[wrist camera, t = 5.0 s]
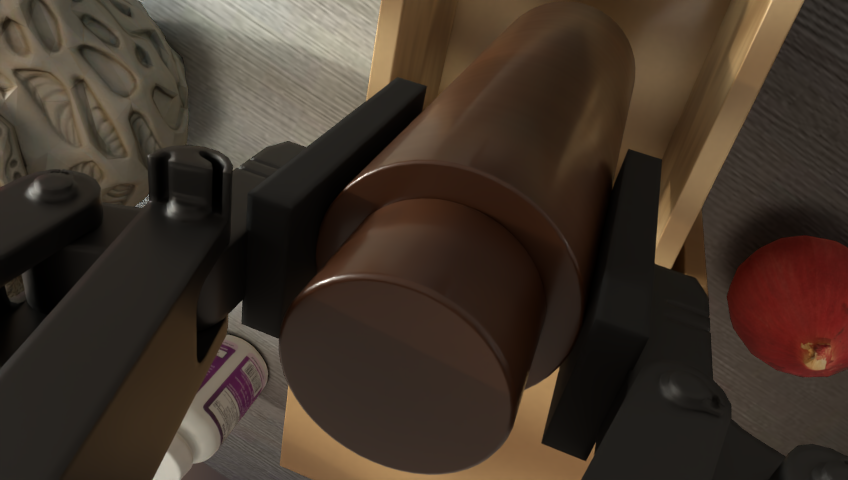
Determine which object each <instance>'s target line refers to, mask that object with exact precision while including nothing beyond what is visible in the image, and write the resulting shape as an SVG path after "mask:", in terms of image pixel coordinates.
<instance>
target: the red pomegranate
mask: <svg viewBox="0 0 848 480" xmlns="http://www.w3.org/2000/svg"><path fill="white" fill-rule="evenodd" d="M727 301H728V307H729V313H730V319H731V322H732V325H733V329H734V330H735V331H736V333H737V334H738V336H739V337H740V338H741V340H742V341H743V342H744V344H745V345H746V347H747V348H748V349H749V351H750V352H751V353H752V354H753V355H754V356H756V357H757V358H759V359H760V360H762V361H764V362H765V363H767V364H768V365H770V366H771V367H773V368H774V369H776V370H779V371H782V372H785V373H789V374H792V375H796V376H799V377H828V376H831V375H833V374H836V373H839V372H841V371H844V370H846V369H848V247H846V246H844V245H842V244H840V243H839V242H837V241H833V240H828V239H823V238H817V237H812V236H807V235H802V236H793V237H784V238H780V239H778V240H775V241H773V242H771V243H769V244H767V245H765V246H763V247H761V248H759V249H758V250H756V251H755V252H754V253H753V254H752V255H751V256H749V257H748V258H747V259H746V260H745V261H744V262H743V263H742V264H741V265H739V266H738V268H737V270H736V273H735V275H734V278H733V280H732V282H731V285H730V288H729V291H728V294H727Z"/></svg>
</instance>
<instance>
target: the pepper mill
mask: <svg viewBox="0 0 848 480" xmlns="http://www.w3.org/2000/svg"><path fill="white" fill-rule="evenodd" d="M635 70H636V67H635V58H634V54H633V51H632V48H631V45H630V43H629V40H628V38H627V37H626V35H625V33H624V32H623V30H622V29H621V28H620V27H619V25H618V24H617V23H616V22H615V21H614V20H613V19H612V18H611V17H609V16H608V15H606V14H605V13H604V12H602V11H600V10H598V9H596V8H595V7H592V6H589V5H587V4H583V3H579V2H572V1H558V2H551V3H546V4H543V5H540V6H537V7H535V8H533V9H531V10H529V11H527V12H526V13H524V14H523V15H521V16H520V17H519V18H518V19H516V20H515V21H514V22H513V23H512V24H511V25H510V26H509V27H508V28H507V29H506V30H505V31H504V32H503V33H502V34H501V35H500V36H499V37H498V38H497V39H496V40H495V41H494V42H493V43H492V44H491V45H490V46H489V47H488V48H487V49H486V50H484V51H483V52H482V53H481V54H480V55H479V56H478V57H477V58H476V59H475V60H474V61H473V62H472V63H471V64H470V65H469V66H468V67H467V68H466V69H465V70H464V71H463V72H462V73H461V74H460V75H459V76H458V77H457V78H456V79H455V80H454V81H453V82H452V83H451V84H450V85H449V86H448V87H447V88H446V89H445V90H444V91H443V92H442V93H441V94H440V95H439V96H438V97H437V98H436V99H435V100H434V101H432V102H431V103H430V104H429V105H428V106H427V107H426V108H425V109H424V110H423V111H422V112H421V113H420V114H419V115H418V116H417V117H416V118H415V119H414V120H413V121H412V122H411V123H410V124H409V125H408V126H407V127H406V128H405V129H404V130H403V131H402V132H401V133H400V134H399V135H398V136H397V137H396V138H395V139H394V140H393V141H392V142H391V143H390V144H389V145H388V146H387V147H386V148H385V149H384V150H383V151H382V152H380V153H379V154H378V155H377V156H376V157H375V158H374V159H373V160H372V161H371V162H370V163H369V164H368V165H367V166H366V167H365V168H364V169H363V170H362V171H361V172H360V173H359V174H358V175H357V176H356V177H355V178H354V179H353V180H352V181H351V182H350V183H349V184H348V185H347V186H346V187H345V188H344V189H343V190H342V191H341V192H340V193H339V194H338V195H337V197H336V198H335V199H334V200H333V202H332V203H331V205H330V206H329V208H328V210H327V212H326V213H325V215H324V218H323V220H322V223H321V226H320V228H319V233H318V238H317V243H316V259H315V260H316V270H317V274H316V275H315V276H314V277H313V278H312V279H311V281H310V282H309V283H308V284H307V285H306V286H305V287H304V289H303V290H302V291H301V292H300V293H299V294H298V295H297V297H296V298H295V299H294V300H293V301H292V302H291V304H290V306H289V307H288V309H287V311H286V312H285V315H284V318H283V321H282V324H281V329H280V335H279V355H280V362H281V366H282V369H283V373H284V376H285V378H286V380H287V383H288V385H289V387H290V389H291V391H292V393H293V395H294V396H295V398H296V400H297V401H298V402H299V404H300V405H301V407H302V408H303V410H304V411H305V412H306V413H307V414H308V415H309V417H310V418H311V419H312V420H313V421H314V422H315V423H316V424H317V425H318V426H319V427H320V428H321V429H322V430H323V431H324V432H326V433H327V434H328V435H329V436H330V437H332V438H333V439H334V440H335V441H337V442H338V443H340V444H341V445H343V446H344V447H345V448H347V449H349V450H350V451H352V452H354V453H356V454H357V455H359V456H361V457H363V458H365V459H368V460H370V461H372V462H374V463H377V464H380V465H382V466H385V467H388V468H391V469H395V470H399V471H403V472H409V473H414V474H426V475H440V474H449V473H456V472H459V471H463V470H467V469H469V468H472V467H474V466H476V465H479V464H480V463H482V462H483V461H485V460H487V459H488V458H489V457H491V456H492V455H493V454H494V453H495V452H496V451H497V450H498V449H500V448H501V446H502V445H503V444H504V442H505V441H506V440H507V439H508V437H509V435H510V433H511V431H512V429H513V426H514V423H515V419H516V416H517V413H518V409H519V406H520V403H521V399H522V396H523V392H524V390H526V389H528V388H530V387H532V386H534V385H536V384H538V383H540V382H541V381H543V380H544V379H546V378H547V377H548V376H550V375H551V374H552V373H553V372H554V371H555V370H556V369H558V368H559V367H560V366H561V365H562V364H563V362H564V361H565V360H566V358H567V357H568V356H569V355H570V353H571V352H572V349H573V347H574V345H575V343H576V341H577V338H578V336H579V333H580V331H581V328H582V326H583V322H584V317H585V312H586V308H587V303H588V298H589V294H590V289H591V284H592V280H593V275H594V270H595V266H596V261H597V256H598V251H599V247H600V242H601V237H602V233H603V228H604V223H605V219H606V214H607V209H608V205H609V200H610V195H611V191H612V186H613V181H614V177H615V172H616V167H617V163H618V158H619V153H620V149H621V144H622V139H623V135H624V130H625V125H626V121H627V116H628V111H629V107H630V102H631V97H632V93H633V88H634V82H635Z"/></svg>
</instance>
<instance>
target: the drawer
mask: <svg viewBox="0 0 848 480" xmlns="http://www.w3.org/2000/svg"><path fill="white" fill-rule="evenodd" d="M558 1H572V2H579V3H583V4H587V5H589V6H592V7H595V8H596V9H598V10H600V11H602V12H604V13H605V14H606V15H608V16H609V17H611V18H612V19H613V20H614V21H615V22H616V23H617V24H618V25H619V27H620V28H621V29H622V30H623V32H624V33H625V35H626V37H627V38H628V40H629V43H630V45H631V48H632V51H633V54H634V58H635V67H636V70H635V82H634V88H633V93H632V97H631V102H630V107H629V111H628V116H627V121H626V125H625V130H624V135H623V139H622V144H621V149H620V153H619V158H618V163H617V167H616V172H615V177H614V181H613V186H614V183H615V181H616V178H617V176H618V173H619V171H620V168H621V166H622V163H623V161H624V158H625V156H626V153H627V151H628V149H630V150H634V151H637V152H640V153H643V154H647V155H650V156H653V157H656V158H659V159H662V167H661V181H660V195H659V209H658V223H657V237H656V251H655V264H657V265H660V266H663V267H666V268H668V269H671V268H672V266H673V264H674V262H675V260H676V258H677V256H678V254H679V252H680V250H681V248H682V246H683V244H684V242H685V240H686V238H687V236H688V234H689V232H690V230H691V228H692V226H693V224H694V222H695V220H696V218H697V216H698V214H699V212H700V210H701V208H702V206H703V204H704V202H705V200H706V198H707V196H708V194H709V192H710V190H711V188H712V186H713V184H714V182H715V180H716V178H717V176H718V174H719V172H720V170H721V168H722V166H723V164H724V162H725V160H726V158H727V156H728V154H729V152H730V150H731V148H732V145H733V143H734V141H735V139H736V137H737V135H738V133H739V131H740V129H741V127H742V125H743V123H744V121H745V119H746V117H747V115H748V113H749V111H750V109H751V107H752V105H753V103H754V101H755V99H756V97H757V95H758V93H759V91H760V89H761V87H762V85H763V83H764V81H765V79H766V77H767V75H768V73H769V71H770V69H771V67H772V65H773V63H774V61H775V59H776V57H777V55H778V53H779V51H780V49H781V47H782V45H783V43H784V41H785V39H786V37H787V35H788V33H789V31H790V29H791V27H792V25H793V23H794V21H795V19H796V17H797V15H798V13H799V11H800V9H801V7H802V5H803V3H804V1H805V0H381V5H380V12H379V18H378V25H377V32H376V38H375V45H374V52H373V58H372V65H371V72H370V78H369V85H368V92H367V98H366V101H367V100H368V99H370V98H371V97H372V96H374V95H375V94H376V93H377V92H379V91H380V90H381V89H383V88H384V87H385V86H386V85H388V84H389V83H390V82H392V81H393V80H394V79H395V78H397V77H399V78H403V79H406V80H409V81H412V82H415V83H419V84H422V85H425V86H427V89H426V94H425V99H424V104H423V109H422V111H423V110H424V109H425V108H426V107H427V106H428V105H429V104H430V103H431V102H432V101H434V100H435V99H436V98H437V97H438V96H439V95H440V94H441V93H442V92H443V91H444V90H445V89H446V88H447V87H448V86H449V85H450V84H451V83H452V82H453V81H454V80H455V79H456V78H457V77H458V76H459V75H460V74H461V73H462V72H463V71H464V70H465V69H466V68H467V67H468V66H469V65H470V64H471V63H472V62H473V61H474V60H475V59H476V58H477V57H478V56H479V55H480V54H481V53H482V52H483V51H484V50H486V49H487V48H488V47H489V46H490V45H491V44H492V43H493V42H494V41H495V40H496V39H497V38H498V37H499V36H500V35H501V34H502V33H503V32H504V31H505V30H506V29H507V28H508V27H509V26H510V25H511V24H512V23H513V22H514V21H515V20H516V19H518V18H519V17H520V16H521V15H523V14H524V13H526V12H527V11H529V10H531V9H533V8H535V7H537V6H540V5H543V4H546V3H551V2H558ZM613 186H612V188H613Z"/></svg>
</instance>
